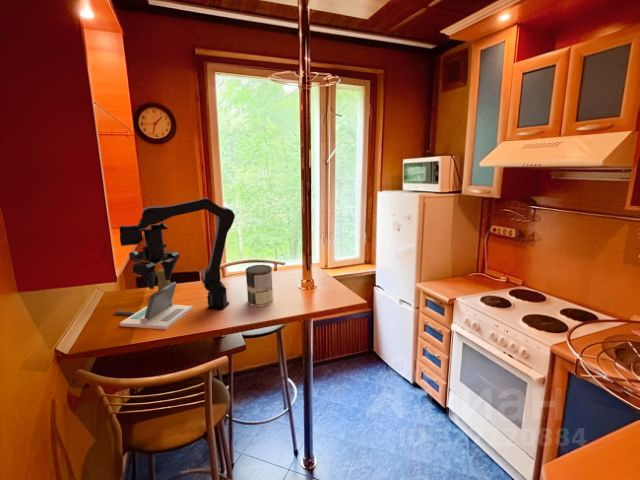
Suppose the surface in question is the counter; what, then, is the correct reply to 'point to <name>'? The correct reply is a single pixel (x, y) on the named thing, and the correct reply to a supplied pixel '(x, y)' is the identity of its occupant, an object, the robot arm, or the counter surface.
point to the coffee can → (259, 285)
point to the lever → (160, 300)
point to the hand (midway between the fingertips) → (160, 284)
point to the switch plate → (155, 317)
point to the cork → (162, 279)
